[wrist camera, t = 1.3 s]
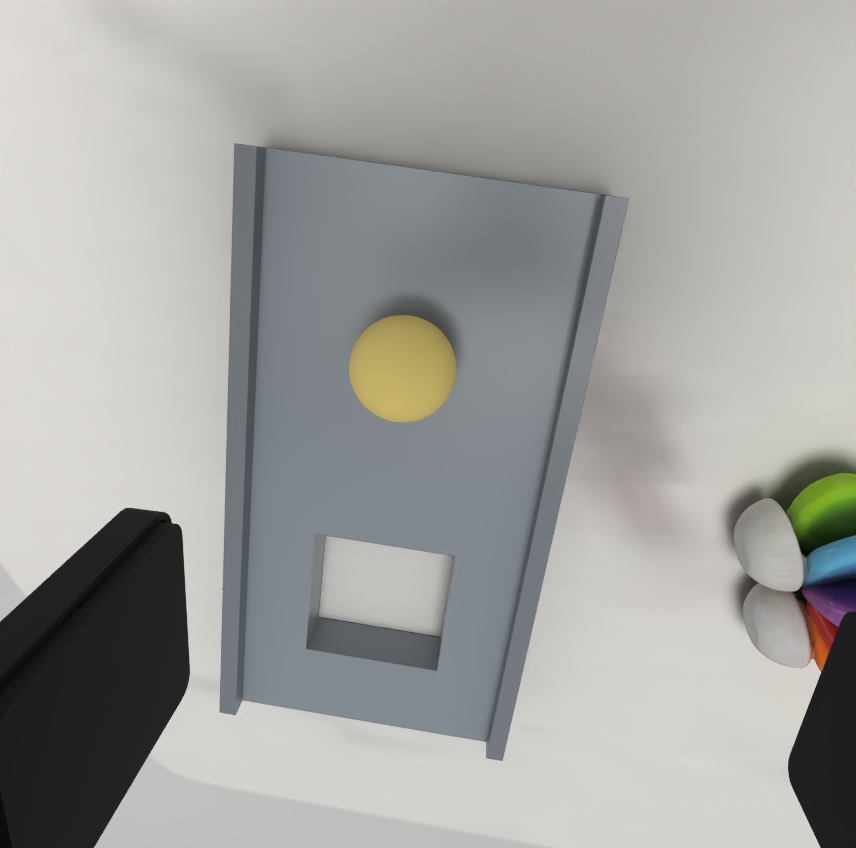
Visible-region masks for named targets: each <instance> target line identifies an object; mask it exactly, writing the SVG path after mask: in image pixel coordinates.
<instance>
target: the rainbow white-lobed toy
mask: <svg viewBox="0 0 856 848" xmlns="http://www.w3.org/2000/svg"><path fill="white" fill-rule="evenodd" d="M733 538H734V545H735V549H736V553H737V556H738V559H739V561H740V563H741V565H742V567H743V569H744V570H745V572H746V573H747V574H748V575H749V576H750V577H752V578H753V579H754V580H755V581H757V582H758V583H757V584H756V585H755V586H754V587H753V588H752V589H751V590H750V592H749V593H748V595H747V597H746V599H745V602H744V605H743V617H744V622H745V625H746V629H747V632H748V634H749V637H750V639H751V641H752V643H753V644H754V646H755V647H756V648H757V649H758V650H759V651H760V652H761V653H762V654H763V655H764V656H766V657H767V658H769V659H770V660H772V661H774V662H776V663H778V664H781V665H784V666H787V667H794V668H804V667H806V666H807V665H808V664H809V663H810V660H811V659H813V658H814V660H815V661H816V664H817V666H818V668H819V669H820V671H821V672H822V669H823V667H824V664H825V662H826V659H827V656H828V654H829V651H830V648H831V646H832V643H833V641H834V638H835V635H836V633H837V630H838V627H839V625H840V622H841V620H842V618H843V616H844V615H845V614H846V613H847V612H851V611H853V612H855V610H856V474H854V473H839V474H834V475H831V476H827V477H825V478H822V479H820V480H818V481H815V482H813V483H812V484H810V485H809V486H808V487H806V488H805V489H804V490H803V491H802V492H801V493H799V495H798V496H797V497H796V498H795V499H794V501H793V502H792V504H791V505H790V507H789V508H788V509H787V511H786V513H785V512H784V510H783V509H782V507H781V506H780V505H779V504H778V503H777V502H776V501H775V500H773V499H770V498H764V499H762V500H760V501H758V502H756V503H754V504H752V505H751V506H749V507H748V508H747V509H746V510H745V511H744V512H743V513H742V514H741V516H740V517H739V519H738V521H737V523H736V525H735V528H734V534H733Z"/></svg>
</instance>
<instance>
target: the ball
mask: <svg viewBox="0 0 856 848" xmlns="http://www.w3.org/2000/svg"><path fill="white" fill-rule="evenodd" d="M349 375H350V381H351V385H352V387H353V390H354V392H355V394H356V396H357V397H358V399H359V400H360V402H361V403H362V404H363V405H364V406H365V407H366V408H367V409H368V410H369V411H370V412H372V413H373V414H375V415H376V416H378V417H380V418H382V419H385V420H388V421H393V422H401V423H402V422H413V421H417V420H421V419H423V418H426V417H428V416H429V415H431V414H433V413H434V412H435V411H437V410H438V409H439V408H440V407H441V406H442V405H443V404H444V403H445V401H446V400H447V399H448V397H449V395H450V393H451V391H452V389H453V386H454V383H455V379H456V359H455V354H454V351H453V348H452V346H451V344H450V342H449V341H448V339H447V338H446V336H445V335H444V334H443V333H442V332H441V331H440V330H439V329H438V328H437V327H436V326H435V325H433V324H432V323H430V322H428V321H426V320H424V319H422V318H419V317H415V316H410V315H395V316H389V317H386V318H383V319H381V320H379V321H377V322H375V323H374V324H372V325H371V326H369V327H368V328H367V329H366V330H365V331H364V332H363V333H362V334H361V335H360V337H359V338H358V340H357V341H356V343H355V345H354V347H353V350H352V353H351V356H350V362H349Z"/></svg>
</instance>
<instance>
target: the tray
mask: <svg viewBox="0 0 856 848" xmlns="http://www.w3.org/2000/svg"><path fill="white" fill-rule="evenodd" d="M628 201H629V199H628V198H622V197H615V196H608V195H601V194H594V193H587V192H580V191H573V190H566V189H558V188H551V187H544V186H537V185H530V184H523V183H516V182H508V181H501V180H494V179H487V178H480V177H473V176H466V175H458V174H451V173H444V172H437V171H430V170H423V169H416V168H408V167H401V166H394V165H387V164H380V163H373V162H366V161H358V160H351V159H344V158H337V157H330V156H323V155H316V154H308V153H301V152H294V151H287V150H280V149H273V148H265V147H258V146H250V145H243V144H235V146H234V184H233V223H232V261H231V299H230V337H229V375H228V413H227V451H226V489H225V527H224V565H223V603H222V641H221V679H220V712H221V713H226V714H232V715H236V713H237V711H238V709H239V707H240V705H241V703H242V700H244V701H250V702H256V703H262V704H268V705H273V706H279V707H285V708H291V709H297V710H303V711H309V712H314V713H320V714H326V715H332V716H338V717H344V718H349V719H355V720H361V721H367V722H373V723H379V724H385V725H390V726H396V727H402V728H408V729H414V730H420V731H426V732H431V733H437V734H443V735H449V736H455V737H461V738H467V739H472V740H478V741H484V742H486V758H488V759H494V760H500V761H503V757H504V752H505V748H506V743H507V739H508V734H509V730H510V725H511V721H512V717H513V712H514V708H515V703H516V699H517V694H518V690H519V685H520V681H521V677H522V672H523V668H524V663H525V659H526V654H527V650H528V645H529V641H530V637H531V632H532V628H533V623H534V619H535V614H536V610H537V605H538V601H539V596H540V592H541V588H542V583H543V579H544V574H545V570H546V565H547V561H548V556H549V552H550V548H551V543H552V539H553V534H554V530H555V525H556V521H557V516H558V512H559V508H560V503H561V499H562V494H563V490H564V485H565V481H566V476H567V472H568V468H569V463H570V459H571V454H572V450H573V445H574V441H575V436H576V432H577V428H578V423H579V419H580V414H581V410H582V405H583V401H584V396H585V392H586V388H587V383H588V379H589V374H590V370H591V365H592V361H593V356H594V352H595V347H596V343H597V339H598V334H599V330H600V325H601V321H602V316H603V312H604V307H605V303H606V299H607V294H608V290H609V285H610V281H611V276H612V272H613V267H614V263H615V259H616V254H617V250H618V245H619V241H620V236H621V232H622V227H623V223H624V219H625V214H626V210H627V205H628ZM395 315H410V316H415V317H419V318H422V319H424V320H426V321H428V322H430V323H432V324H433V325H435V326H436V327H437V328H438V329H439V330H440V331H441V332H442V333H443V334H444V335H445V336H446V338H447V339H448V341H449V342H450V344H451V346H452V348H453V351H454V354H455V359H456V379H455V383H454V386H453V389H452V391H451V393H450V395H449V397H448V399H447V400H446V401H445V403H444V404H443V405H442V406H441V407H440V408H439V409H438V410H437V411H435V412H434V413H433V414H431V415H429V416H428V417H426V418H423V419H421V420H417V421H413V422H402V423H401V422H393V421H388V420H385V419H382V418H380V417H378V416H376V415H375V414H373V413H372V412H370V411H369V410H368V409H367V408H366V407H365V406H364V405H363V404H362V403H361V402H360V400H359V399H358V397H357V396H356V394H355V392H354V390H353V387H352V385H351V381H350V375H349V362H350V356H351V353H352V350H353V347H354V345H355V343H356V341H357V340H358V338H359V337H360V335H361V334H362V333H363V332H364V331H365V330H366V329H367V328H368V327H369V326H371V325H372V324H374V323H375V322H377V321H379V320H381V319H383V318H386V317H389V316H395ZM325 535H326V536H332V537H338V538H344V539H351V540H357V541H363V542H369V543H375V544H382V545H388V546H394V547H400V548H407V549H413V550H419V551H425V552H431V553H438V554H444V555H450V556H454V560H453V566H452V572H451V578H450V584H449V590H448V596H447V602H446V608H445V614H444V620H443V626H442V632H441V638H440V637H434V636H428V635H422V634H416V633H410V632H404V631H398V630H392V629H386V628H380V627H374V626H368V625H362V624H356V623H349V622H343V621H337V620H331V619H325V618H319V617H318V615H319V604H320V593H321V581H322V570H323V558H324V547H325Z"/></svg>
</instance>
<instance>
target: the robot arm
mask: <svg viewBox="0 0 856 848" xmlns="http://www.w3.org/2000/svg"><path fill="white" fill-rule="evenodd" d="M189 675H190V665H189V646H188V628H187V610H186V592H185V574H184V556H183V538H182V530H181V527H180V526H179V525H178V524H173V523H172V522H171V518H170V516H169V515H168V514H167V513H166V512H158V511H150V510H142V509H135V508H125V509H124V510H122V511H121V512H120V513H118V514H117V515H116V516H115V517H114V518H113V519H112V520H111V521H110V522H109V523H108V524H106V525H105V526H104V527H103V528H102V529H101V530H100V531H99V532H98V533H97V534H96V535H94V536H93V537H92V538H91V539H90V540H89V541H88V542H87V543H86V544H85V545H84V546H82V547H81V548H80V549H79V550H78V551H77V552H76V553H75V554H74V555H73V556H72V557H70V558H69V559H68V560H67V561H66V562H65V563H64V564H63V565H62V566H61V567H60V568H58V569H57V570H56V571H55V572H54V573H53V574H52V575H51V576H50V577H49V578H48V579H46V580H45V581H44V582H43V583H42V584H41V585H40V586H39V587H38V588H37V589H36V590H34V591H33V592H32V593H31V594H30V595H29V596H28V597H27V598H26V599H25V600H24V601H23V602H21V603H20V604H19V605H18V606H17V607H16V608H15V609H14V610H13V611H12V612H11V613H10V614H8V615H7V616H6V617H5V618H4V619H3V620H2V621H1V622H0V848H94V846H95V845H96V843H97V841H98V840H99V838H100V836H101V835H102V833H103V831H104V829H105V828H106V826H107V825H108V823H109V821H110V819H111V818H112V816H113V814H114V813H115V811H116V809H117V808H118V806H119V804H120V802H121V801H122V799H123V798H124V796H125V794H126V793H127V791H128V789H129V787H130V786H131V784H132V782H133V781H134V779H135V777H136V776H137V774H138V772H139V771H140V769H141V767H142V766H143V764H144V762H145V760H146V759H147V757H148V755H149V754H150V752H151V750H152V749H153V747H154V745H155V744H156V742H157V740H158V739H159V737H160V735H161V734H162V732H163V730H164V729H165V727H166V725H167V723H168V722H169V720H170V718H171V717H172V715H173V713H174V712H175V710H176V708H177V707H178V705H179V703H180V702H181V700H182V698H183V696H184V694H185V691H186V689H187V685H188V681H189ZM788 772H789V778H790V782H791V785H792V788H793V790H794V792H795V794H796V796H797V798H798V801H799V803H800V805H801V807H802V809H803V811H804V813H805V815H806V818H807V820H808V822H809V824H810V826H811V828H812V830H813V832H814V835H815V837H816V839H817V841H818V843H819V845H820V847H821V848H856V610H855V612H853V611H851V612H847V613H846V614H845V615H844V616H843V618H842V620H841V622H840V625H839V627H838V630H837V633H836V635H835V638H834V641H833V643H832V646H831V648H830V651H829V654H828V656H827V659H826V662H825V664H824V667H823V669H822V672H821V675H820V677H819V680H818V683H817V685H816V688H815V690H814V693H813V696H812V698H811V701H810V704H809V706H808V709H807V711H806V714H805V717H804V719H803V722H802V725H801V727H800V730H799V732H798V735H797V738H796V740H795V743H794V746H793V748H792V751H791V753H790V757H789V762H788Z"/></svg>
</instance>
